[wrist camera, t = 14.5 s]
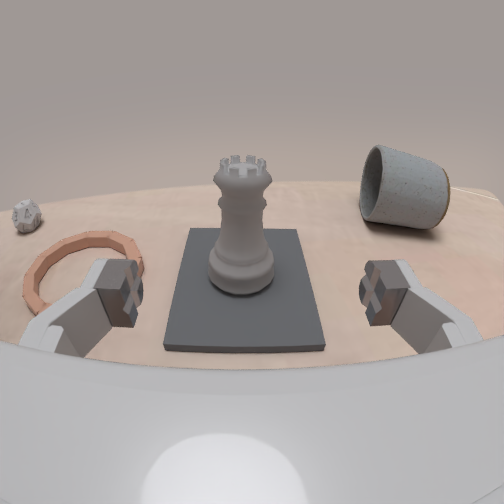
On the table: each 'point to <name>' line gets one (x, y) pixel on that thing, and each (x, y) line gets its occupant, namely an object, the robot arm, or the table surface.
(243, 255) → the rook chess piece
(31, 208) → the game die
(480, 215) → the table surface
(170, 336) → the charcoal mat
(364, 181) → the ceramic mug
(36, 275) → the terracotta ring
